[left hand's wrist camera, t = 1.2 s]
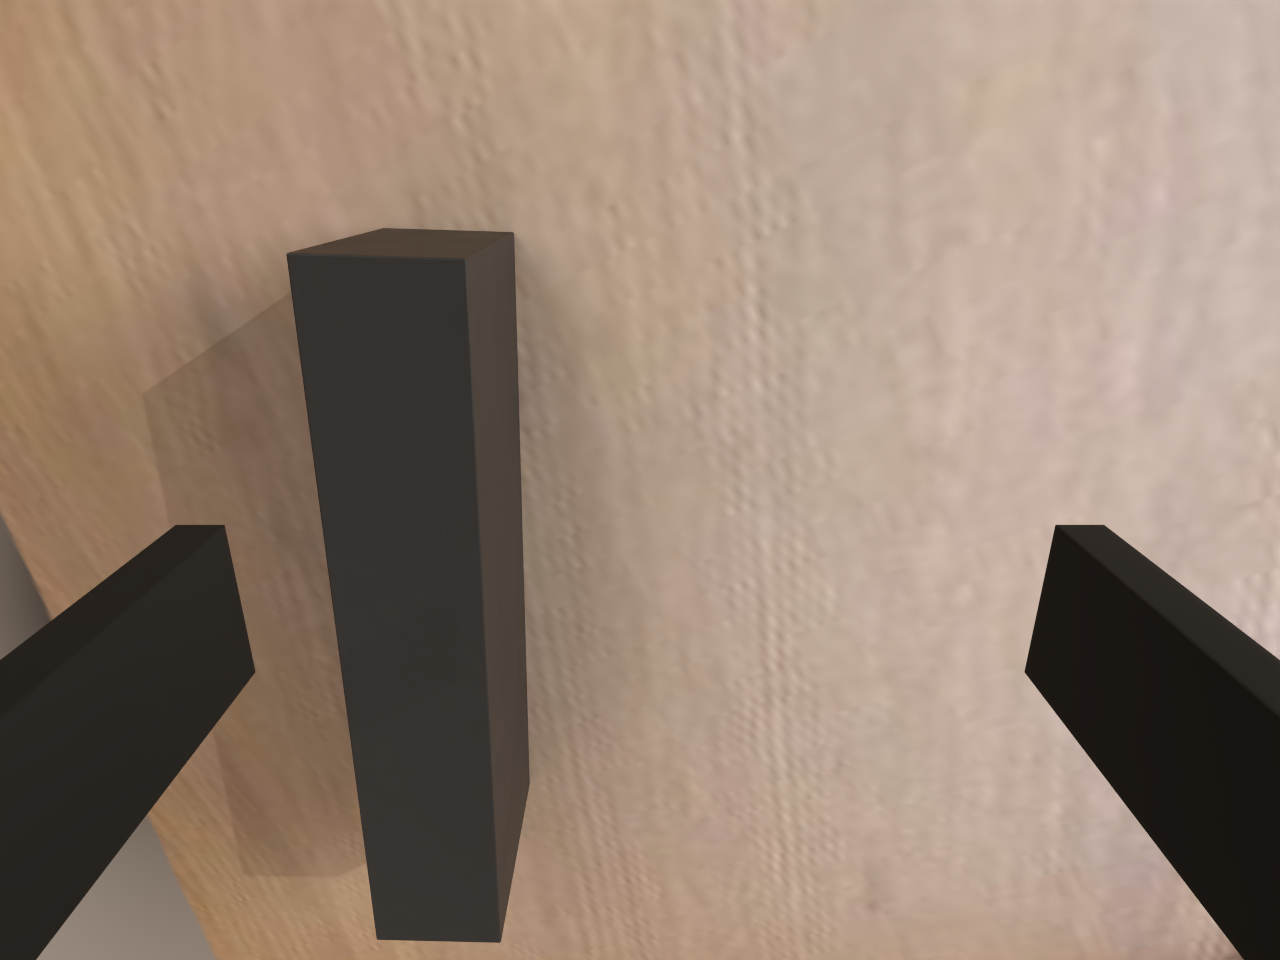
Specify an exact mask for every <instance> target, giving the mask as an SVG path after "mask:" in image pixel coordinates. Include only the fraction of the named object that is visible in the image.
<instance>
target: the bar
mask: <svg viewBox="0 0 1280 960" xmlns="http://www.w3.org/2000/svg"><path fill="white" fill-rule="evenodd" d="M287 261H288V269H289V277H290V284H291V292H292V299H293V307H294V315H295V322H296V330H297V337H298V345H299V352H300V360H301V368H302V375H303V383H304V390H305V398H306V405H307V413H308V421H309V428H310V436H311V443H312V451H313V459H314V466H315V474H316V481H317V489H318V496H319V504H320V512H321V519H322V527H323V534H324V542H325V549H326V557H327V565H328V572H329V580H330V587H331V595H332V603H333V610H334V618H335V625H336V633H337V640H338V648H339V656H340V663H341V671H342V678H343V686H344V693H345V701H346V709H347V716H348V724H349V731H350V739H351V747H352V754H353V762H354V769H355V777H356V784H357V792H358V800H359V807H360V815H361V822H362V830H363V837H364V845H365V853H366V860H367V868H368V875H369V883H370V891H371V898H372V906H373V913H374V921H375V928H376V936H377V939H378V940H414V941H455V942H497V943H499V942H501V938H502V932H503V927H504V921H505V916H506V910H507V905H508V899H509V894H510V888H511V883H512V877H513V872H514V866H515V861H516V855H517V850H518V844H519V839H520V833H521V828H522V822H523V817H524V811H525V806H526V800H527V795H528V789H529V749H528V714H527V679H526V643H525V608H524V573H523V538H522V502H521V467H520V432H519V397H518V361H517V326H516V291H515V256H514V233H513V232H486V231H454V230H422V229H390V228H383V229H379V230H375V231H371V232H367V233H363V234H360V235H356V236H352V237H348V238H344V239H340V240H336V241H333V242H329V243H325V244H321V245H317V246H313V247H309V248H305V249H302V250H298V251H294V252H290V253H287Z"/></svg>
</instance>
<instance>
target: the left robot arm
mask: <svg viewBox="0 0 1280 960" xmlns="http://www.w3.org/2000/svg"><path fill="white" fill-rule="evenodd" d="M254 673H255V668H254V663H253V658H252V653H251V649H250V644H249V639H248V634H247V630H246V625H245V620H244V615H243V611H242V606H241V601H240V596H239V592H238V587H237V582H236V577H235V573H234V568H233V563H232V559H231V554H230V549H229V544H228V540H227V535H226V530H225V525H175V526H174V527H173V528H171V529H170V530H169V531H168V532H166V533H165V534H164V535H162V536H161V537H160V538H158V539H157V540H156V541H155V542H153V543H152V544H151V545H149V546H148V547H147V548H145V549H144V550H143V551H142V552H140V553H139V554H138V555H136V556H135V557H134V558H132V559H131V560H130V561H129V562H127V563H126V564H125V565H123V566H122V567H121V568H119V569H118V570H117V571H116V572H114V573H113V574H112V575H110V576H109V577H108V578H106V579H105V580H104V581H103V582H101V583H100V584H99V585H97V586H96V587H95V588H93V589H92V590H91V591H90V592H88V593H87V594H86V595H84V596H83V597H82V598H80V599H79V600H78V601H77V602H75V603H74V604H73V605H71V606H70V607H69V608H67V609H66V610H65V611H64V612H62V613H61V614H60V615H58V616H57V617H56V618H54V619H53V620H52V621H51V622H49V623H48V624H47V625H45V626H44V627H43V628H41V629H40V630H39V631H38V632H36V633H35V634H34V635H32V636H31V637H30V638H28V639H27V640H26V641H25V642H23V643H22V644H21V645H19V646H18V647H17V648H16V649H14V650H13V651H12V652H10V653H9V654H8V655H6V656H5V657H4V658H2V659H1V660H0V960H36V959H37V958H38V956H39V955H40V954H41V952H42V951H43V950H44V948H45V947H46V946H47V944H48V943H49V942H50V941H51V939H52V938H53V937H54V935H55V934H56V933H57V931H58V930H59V929H60V928H61V926H62V925H63V924H64V922H65V921H66V920H67V918H68V917H69V916H70V914H71V913H72V912H73V910H74V909H75V908H76V907H77V905H78V904H79V903H80V901H81V900H82V899H83V897H84V896H85V895H86V893H87V892H88V891H89V889H90V888H91V887H92V886H93V884H94V883H95V882H96V880H97V879H98V878H99V876H100V875H101V874H102V872H103V871H104V870H105V868H106V867H107V866H108V865H109V863H110V862H111V861H112V859H113V858H114V857H115V855H116V854H117V853H118V851H119V850H120V849H121V847H122V846H123V845H124V844H125V842H126V841H127V840H128V838H129V837H130V836H131V834H132V833H133V832H134V831H135V829H136V828H137V826H138V825H139V824H140V823H141V821H142V820H143V819H144V817H145V816H146V815H147V813H148V812H149V811H150V810H151V808H152V807H153V806H154V804H155V803H156V802H157V800H158V799H159V798H160V796H161V795H162V794H163V792H164V791H165V790H166V789H167V787H168V786H169V785H170V783H171V782H172V781H173V779H174V778H175V777H176V775H177V774H178V773H179V772H180V770H181V769H182V768H183V766H184V765H185V764H186V762H187V761H188V760H189V758H190V757H191V756H192V754H193V753H194V752H195V751H196V749H197V748H198V747H199V745H200V744H201V743H202V741H203V740H204V739H205V737H206V736H207V735H208V734H209V732H210V731H211V730H212V728H213V727H214V726H215V724H216V723H217V722H218V720H219V719H220V718H221V716H222V715H223V714H224V713H225V711H226V710H227V709H228V707H229V706H230V705H231V703H232V702H233V701H234V699H235V698H236V697H237V695H238V694H239V693H240V692H241V690H242V689H243V688H244V686H245V685H246V684H247V682H248V681H249V680H250V678H251V677H252V676H253V675H254ZM1025 673H1026V675H1027V676H1028V677H1029V678H1030V680H1031V681H1032V682H1033V684H1034V685H1035V686H1036V688H1037V689H1038V690H1039V692H1040V693H1041V694H1042V695H1043V697H1044V698H1045V699H1046V701H1047V702H1048V703H1049V705H1050V706H1051V707H1052V709H1053V710H1054V711H1055V713H1056V714H1057V715H1058V716H1059V718H1060V719H1061V720H1062V722H1063V723H1064V724H1065V726H1066V727H1067V728H1068V730H1069V731H1070V732H1071V734H1072V735H1073V736H1074V737H1075V739H1076V740H1077V741H1078V743H1079V744H1080V745H1081V747H1082V748H1083V749H1084V751H1085V752H1086V753H1087V754H1088V756H1089V757H1090V758H1091V760H1092V761H1093V762H1094V764H1095V765H1096V766H1097V768H1098V769H1099V770H1100V772H1101V773H1102V774H1103V775H1104V777H1105V778H1106V779H1107V781H1108V782H1109V783H1110V785H1111V786H1112V787H1113V789H1114V790H1115V791H1116V793H1117V794H1118V795H1119V796H1120V798H1121V799H1122V800H1123V802H1124V803H1125V804H1126V806H1127V807H1128V808H1129V810H1130V811H1131V812H1132V813H1133V815H1134V816H1135V817H1136V819H1137V820H1138V821H1139V823H1140V824H1141V825H1142V827H1143V828H1144V829H1145V831H1146V832H1147V833H1148V834H1149V836H1150V837H1151V838H1152V840H1153V841H1154V842H1155V844H1156V845H1157V846H1158V848H1159V849H1160V850H1161V851H1162V853H1163V854H1164V855H1165V857H1166V858H1167V859H1168V861H1169V862H1170V863H1171V865H1172V866H1173V867H1174V869H1175V870H1176V871H1177V872H1178V874H1179V875H1180V876H1181V878H1182V879H1183V880H1184V882H1185V883H1186V884H1187V886H1188V887H1189V888H1190V890H1191V891H1192V892H1193V893H1194V895H1195V896H1196V897H1197V899H1198V900H1199V901H1200V903H1201V904H1202V905H1203V907H1204V908H1205V909H1206V910H1207V912H1208V913H1209V914H1210V916H1211V917H1212V918H1213V920H1214V921H1215V922H1216V924H1217V925H1218V926H1219V928H1220V929H1221V930H1222V931H1223V933H1224V934H1225V935H1226V937H1227V938H1228V939H1229V941H1230V942H1231V943H1232V945H1233V946H1234V947H1235V949H1236V950H1237V951H1238V952H1239V954H1240V955H1241V956H1242V958H1243V959H1244V960H1280V660H1279V659H1278V658H1276V657H1275V656H1274V655H1272V654H1271V653H1270V652H1268V651H1267V650H1266V649H1265V648H1263V647H1262V646H1261V645H1259V644H1258V643H1257V642H1255V641H1254V640H1253V639H1252V638H1250V637H1249V636H1248V635H1246V634H1245V633H1244V632H1242V631H1241V630H1240V629H1239V628H1237V627H1236V626H1235V625H1233V624H1232V623H1231V622H1229V621H1228V620H1227V619H1226V618H1224V617H1223V616H1222V615H1220V614H1219V613H1218V612H1216V611H1215V610H1214V609H1213V608H1211V607H1210V606H1209V605H1207V604H1206V603H1205V602H1203V601H1202V600H1201V599H1200V598H1198V597H1197V596H1196V595H1194V594H1193V593H1192V592H1190V591H1189V590H1188V589H1187V588H1185V587H1184V586H1183V585H1181V584H1180V583H1179V582H1177V581H1176V580H1175V579H1174V578H1172V577H1171V576H1170V575H1168V574H1167V573H1166V572H1164V571H1163V570H1162V569H1161V568H1159V567H1158V566H1157V565H1155V564H1154V563H1153V562H1151V561H1150V560H1149V559H1148V558H1146V557H1145V556H1144V555H1142V554H1141V553H1140V552H1138V551H1137V550H1136V549H1135V548H1133V547H1132V546H1131V545H1129V544H1128V543H1127V542H1125V541H1124V540H1123V539H1122V538H1120V537H1119V536H1118V535H1116V534H1115V533H1114V532H1112V531H1111V530H1110V529H1109V528H1107V527H1106V526H1105V525H1055V530H1054V535H1053V540H1052V544H1051V549H1050V554H1049V558H1048V563H1047V568H1046V573H1045V577H1044V582H1043V587H1042V592H1041V596H1040V601H1039V606H1038V611H1037V615H1036V620H1035V625H1034V630H1033V634H1032V639H1031V644H1030V649H1029V653H1028V658H1027V663H1026V668H1025Z"/></svg>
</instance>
